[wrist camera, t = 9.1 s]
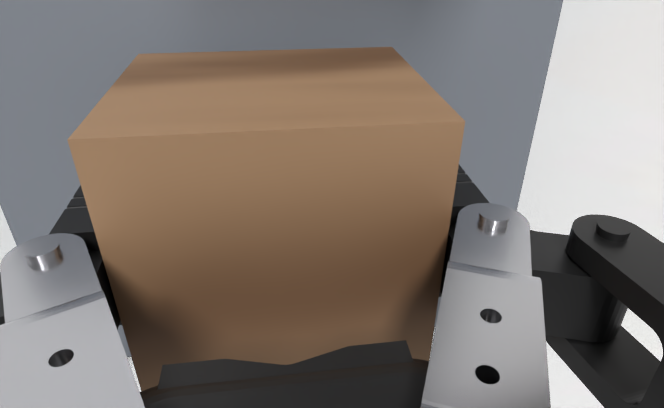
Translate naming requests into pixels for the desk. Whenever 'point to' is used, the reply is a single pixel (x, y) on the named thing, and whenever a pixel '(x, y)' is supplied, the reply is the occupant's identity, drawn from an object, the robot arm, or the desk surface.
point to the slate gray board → (250, 35)
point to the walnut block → (270, 203)
